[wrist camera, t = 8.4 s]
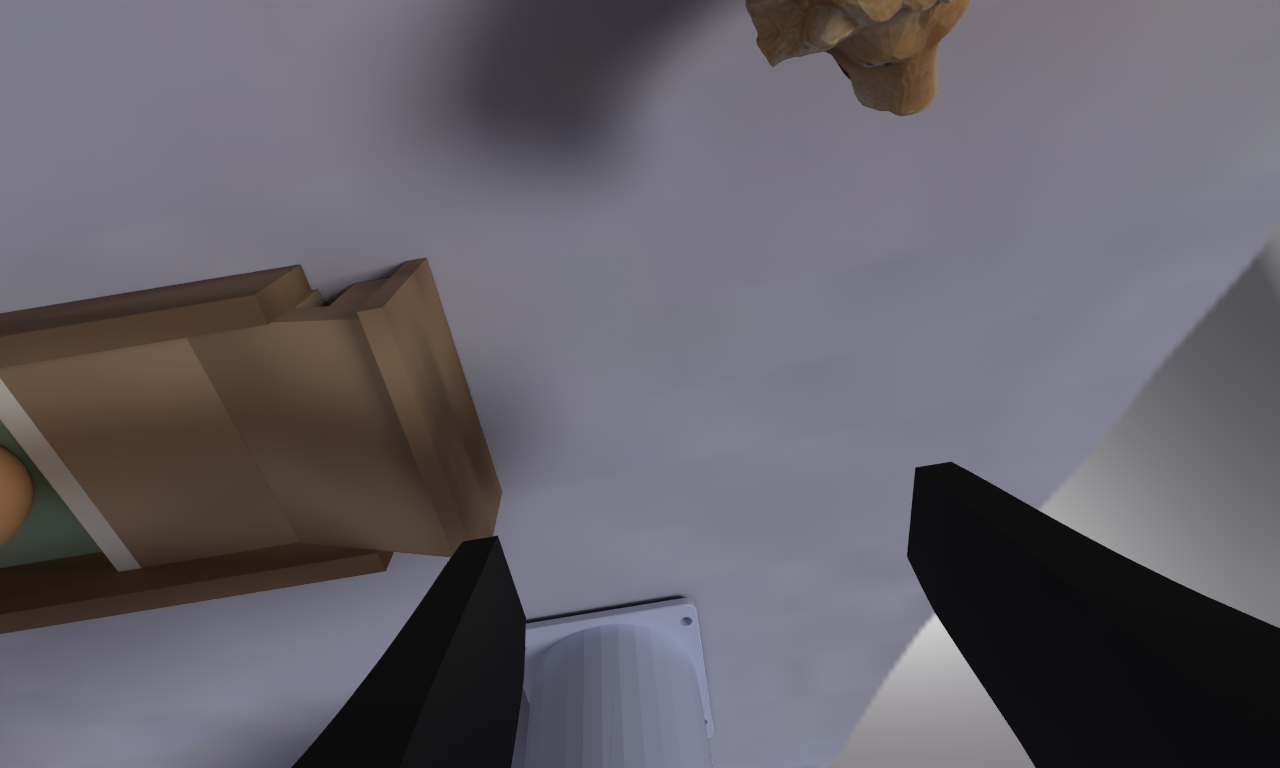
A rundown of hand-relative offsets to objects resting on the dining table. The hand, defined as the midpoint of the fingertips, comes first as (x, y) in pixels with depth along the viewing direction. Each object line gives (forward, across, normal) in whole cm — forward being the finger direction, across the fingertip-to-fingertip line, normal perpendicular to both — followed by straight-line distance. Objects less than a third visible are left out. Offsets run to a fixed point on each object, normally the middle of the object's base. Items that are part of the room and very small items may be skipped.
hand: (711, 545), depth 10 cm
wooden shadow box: (+10, +16, +1) cm, 19 cm away
